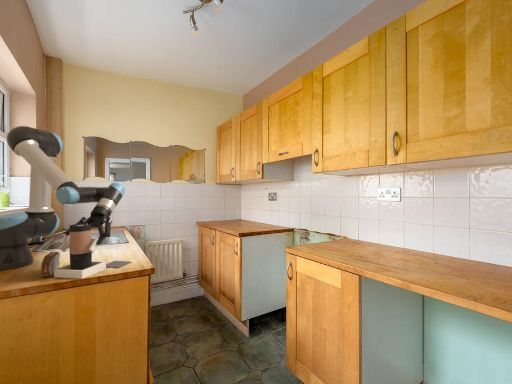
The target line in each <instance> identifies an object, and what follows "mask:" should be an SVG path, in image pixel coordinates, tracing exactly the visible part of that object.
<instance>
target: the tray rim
mask: <svg viewBox="0 0 512 384" xmlns="http://www.w3.org/2000/svg"><path fill="white" fill-rule="evenodd" d="M106 264H107V261H100V260H92V267H89V268H87V269H84V270H70V263H69V264H67V265H63V266H61V267H60V266H59V268H57V269H54V274H53V278H61V279H62V278H64V279H79V280H80V279H81V280H82V279H86V278H87V277H90V276H92V275H95V274H96V273H97V274H98V273H99V272H101V271H104V270H106V269H107V268H106Z"/></svg>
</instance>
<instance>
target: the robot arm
mask: <svg viewBox="0 0 512 384" xmlns="http://www.w3.org/2000/svg"><path fill="white" fill-rule="evenodd" d="M6 142H7V146H9V148H10V149H11V151H12V152H13V153H14V154H15V155H17V156H18V157H21V158H23V159H24V161H25V162H27V163H28V164H29V165H30V172H29V173H30V175H29V176H30V177H29V178H30V179H29V199H28V200H29V201H28V202H29V203H28V204H29V205H28V208H26V209H25V210H24V212H15V213H14V212H13V213H8V214H2V215H0V271H1V270H3V271H4V270H10V269H11V270H12V269H17V268H21V267H26V266H28V265H31V264H33V263H34V256H33V254H32V252H31V250H30V248H29V240H30V239H36V238H43V237H47V236H50V235H53V234H54V233H55V232H56V231H57V230H58V229H59V227H60V223H61V221H60V220H61V219H60V218H59V217H58V215H57V214H56V213H55V209H54V208H52V191H55V198H56V201H57V202H58V203H59V204H61V205H77V204H90V203H91V204H93V203H96V204H95V206H94V208H93V209H92V210H91V212H90V216H89V217H88V218H86V217H85V216H82V217H81V218H80V219H79V220H78V221H77V222H76V223H75V224H83V225H87V224H91V229H97V230H98V235H96V236H95V238H94V241H92V245H91V246H90V248H89V250H90V251H91V252H92V254H93V253H94V254H95V252H96V251H97V249H98V247H99V246H101V244H102V243H103V241H104V240H105V239H106V238H107V239H109V238H110V237H111V231H112V230H111V228H112V223H113V220H112V219H111V216H112V214H113V212H114V210H115V209H116V208H117V206H118V204H119V202H120V201H121V200H122V198H123V196H124V195H125V192H126V188H125V187H124V186H123V184H121V183H118V182H112V183H110V184H109V185H108V186H105V187H100V186H99V187H98V186H78V185H77V184H76V183H75V182H74V181H73V180H72V179H70V177H69V176H68V175H67V174H66V173H65V172H64V171H63V170H62V169H61V168H60V167H59V166H58V165H57V164H56V163H55V162H54V161H55V160H57V159H58V157H57V156H58V155H59V154H61V152H63V150H64V149H63V148H64V143H63V140H62V138H61V137H60V136H59V135H58V134H57V133H54V132H52V131H50V130H49V131H48V130H44V129H39V128H35V127H31V126H28V125H26V126H25V125H21V126H16V127H13V128H11V129H10V130H8V133H7V136H6ZM103 225H104V226H103ZM64 235H65V236H66V237H65V238H64V239H63V241H62V243H61V245H60V246H59V250H60V251H61V252H64V253H65V252H66V251H67V250H68V249H69V248H70V245H69V228H68V229H67V230H65V231H64Z"/></svg>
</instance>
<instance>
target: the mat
mask: <svg viewBox="0 0 512 384" xmlns="http://www.w3.org/2000/svg"><path fill="white" fill-rule="evenodd" d="M129 264H132V261H130V260H113V261H111V262H108V263H106V269H107V268H109V269H111V268H112V269H121V268H123V267H124V266H127V265H129Z"/></svg>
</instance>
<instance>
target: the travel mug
mask: <svg viewBox="0 0 512 384" xmlns="http://www.w3.org/2000/svg"><path fill="white" fill-rule="evenodd" d="M68 227H69V228H68V229H69V264H70V270H84V269H87V268H89V267H92V261H93V260H92V259H93V257H92V256H93V253H92V252H91V251H90V250H89V248H90V246H91V245H92V243H93V241H92V240H93V239H92V238H93V237H92V228H91V224H86V225H83V224H76V223H75V224H69V226H68Z"/></svg>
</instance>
